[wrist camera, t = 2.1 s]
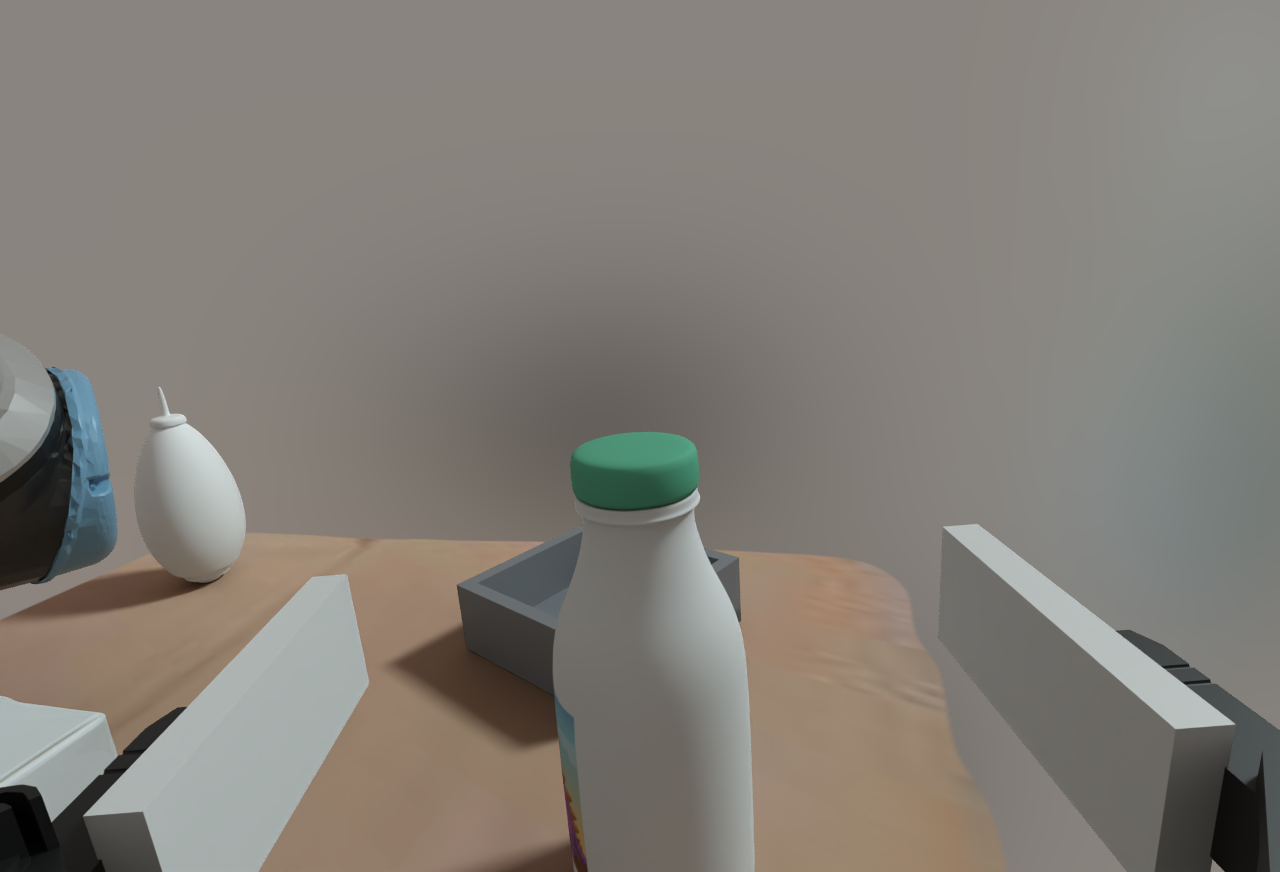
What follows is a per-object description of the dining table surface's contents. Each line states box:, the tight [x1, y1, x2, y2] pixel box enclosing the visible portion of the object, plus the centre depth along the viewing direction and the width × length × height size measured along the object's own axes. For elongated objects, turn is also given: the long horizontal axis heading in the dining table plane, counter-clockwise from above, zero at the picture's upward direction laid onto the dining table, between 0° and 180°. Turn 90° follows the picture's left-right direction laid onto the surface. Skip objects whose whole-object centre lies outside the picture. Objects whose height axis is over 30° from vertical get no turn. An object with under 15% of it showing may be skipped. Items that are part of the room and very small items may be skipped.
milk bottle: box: [553, 432, 754, 872], centre depth 27 cm, size 8×8×20 cm
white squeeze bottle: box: [134, 387, 246, 583], centre depth 61 cm, size 8×8×18 cm
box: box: [457, 525, 741, 696], centre depth 49 cm, size 14×14×5 cm
